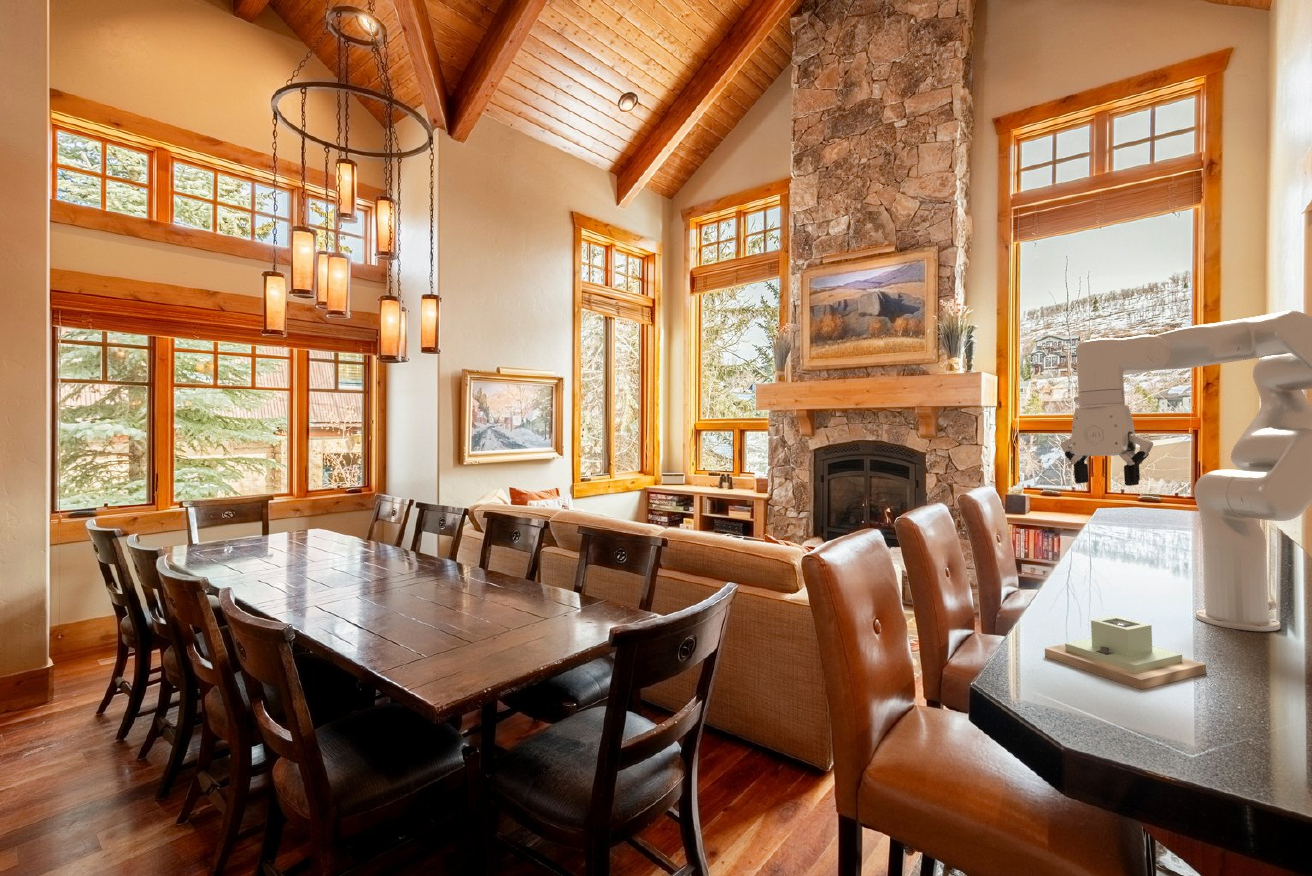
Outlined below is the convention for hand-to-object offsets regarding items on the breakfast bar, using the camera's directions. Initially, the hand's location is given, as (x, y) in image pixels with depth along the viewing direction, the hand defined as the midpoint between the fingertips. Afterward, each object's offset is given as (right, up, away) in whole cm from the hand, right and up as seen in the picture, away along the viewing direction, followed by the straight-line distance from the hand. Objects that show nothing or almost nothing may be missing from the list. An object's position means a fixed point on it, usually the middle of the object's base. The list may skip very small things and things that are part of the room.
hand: (1106, 483), depth 123 cm
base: (-11, -30, -19) cm, 37 cm away
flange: (-11, -28, -19) cm, 36 cm away
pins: (-13, -28, -19) cm, 36 cm away
